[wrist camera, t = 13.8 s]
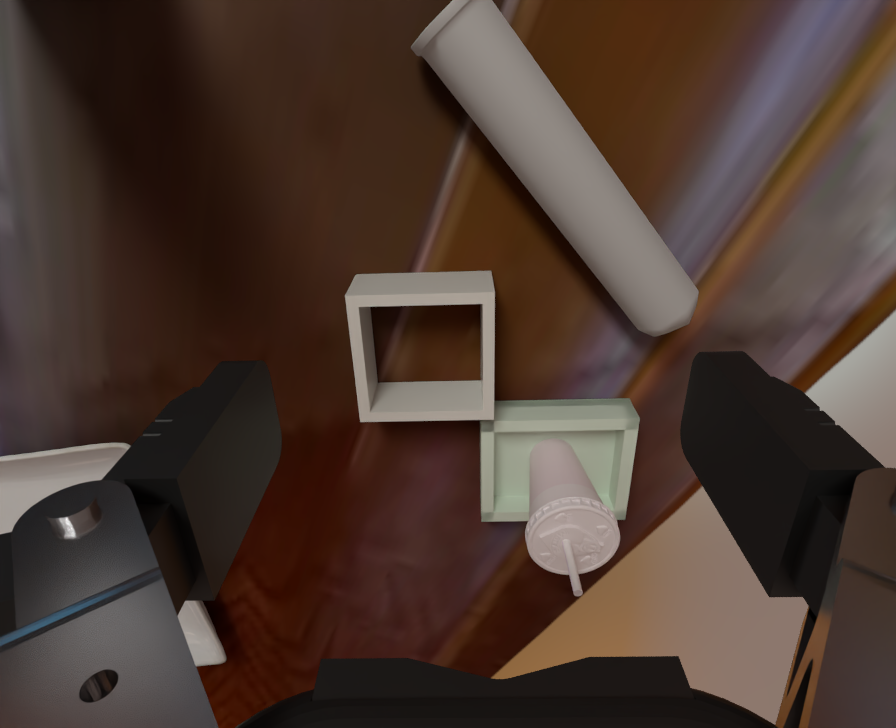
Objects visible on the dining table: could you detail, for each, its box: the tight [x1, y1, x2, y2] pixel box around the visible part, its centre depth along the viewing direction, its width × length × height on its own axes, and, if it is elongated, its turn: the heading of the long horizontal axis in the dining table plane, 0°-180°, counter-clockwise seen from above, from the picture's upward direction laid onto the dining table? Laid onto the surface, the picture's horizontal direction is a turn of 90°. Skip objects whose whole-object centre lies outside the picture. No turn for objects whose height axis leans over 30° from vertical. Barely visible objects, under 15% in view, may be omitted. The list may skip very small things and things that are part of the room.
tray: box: [480, 398, 640, 522], centre depth 47 cm, size 12×10×3 cm
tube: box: [411, 0, 699, 337], centre depth 36 cm, size 5×5×25 cm
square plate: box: [0, 443, 226, 666], centre depth 53 cm, size 27×27×4 cm
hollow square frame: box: [345, 271, 495, 422], centre depth 41 cm, size 10×10×4 cm
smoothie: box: [525, 438, 620, 596], centre depth 41 cm, size 6×6×14 cm
